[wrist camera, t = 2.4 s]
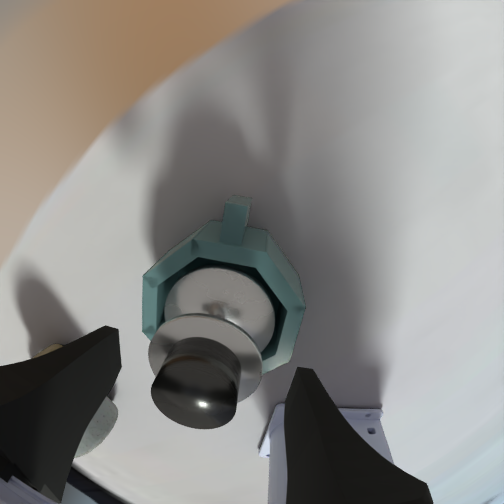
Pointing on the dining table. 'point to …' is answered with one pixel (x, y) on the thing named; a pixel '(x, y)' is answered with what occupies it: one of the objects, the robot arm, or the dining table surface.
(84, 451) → the ceramic mug
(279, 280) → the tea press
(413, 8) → the dining table surface
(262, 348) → the black and white knob
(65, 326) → the dining table surface
